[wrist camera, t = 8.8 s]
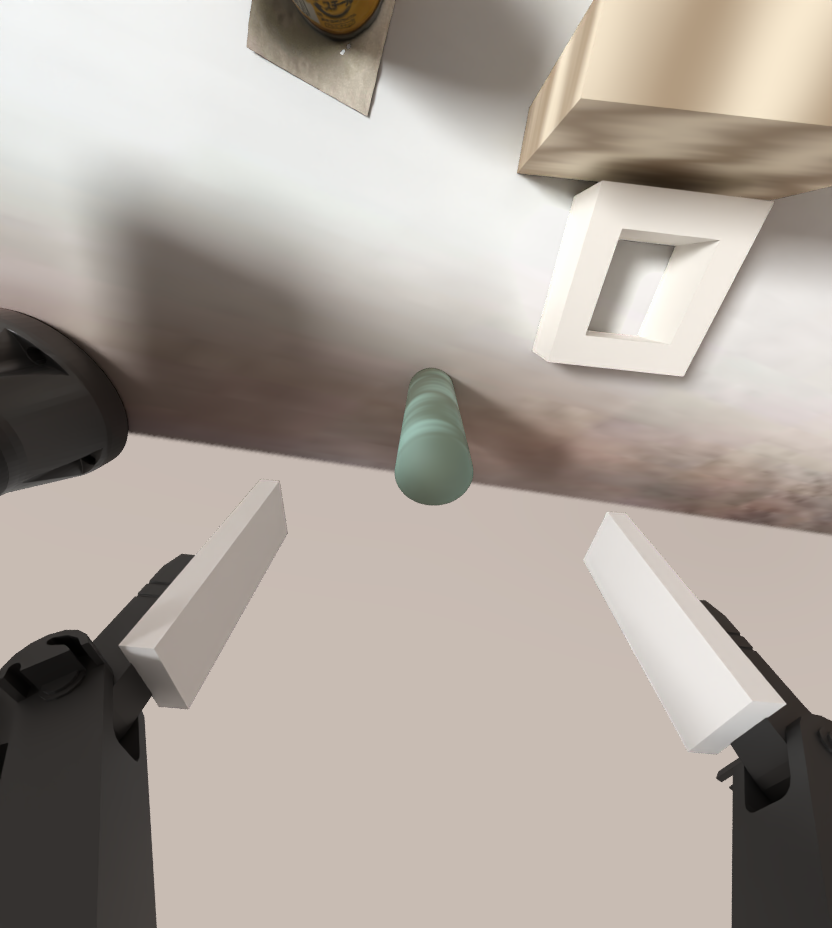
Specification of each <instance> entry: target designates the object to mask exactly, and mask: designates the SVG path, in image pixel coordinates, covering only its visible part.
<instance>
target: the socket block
mask: <svg viewBox="0 0 832 928" xmlns="http://www.w3.org/2000/svg"><path fill="white" fill-rule="evenodd" d="M774 202H775V201H767V200H759V199H751V198H742V197H734V196H726V195H718V194H710V193H701V192H693V191H685V190H677V189H669V188H660V187H652V186H644V185H636V184H628V183H619V182H611V181H603V180H602V181H600V182H599V183H597V184H595V185H593V186H592V187H590V188H588V189H586V190H584V191H583V192H581V193H579V194H577V195H576V196H574V198H573V202H572V206H571V209H570V213H569V217H568V220H567V224H566V228H565V231H564V235H563V239H562V243H561V246H560V250H559V254H558V257H557V261H556V265H555V268H554V272H553V276H552V279H551V283H550V287H549V291H548V294H547V298H546V302H545V305H544V309H543V313H542V316H541V320H540V324H539V327H538V331H537V335H536V339H535V342H534V346H533V350H532V351H533V352H534V353H536V354H537V355H539V356H540V357H542V358H543V359H544V360H546V361H547V362H553V363H562V364H572V365H581V366H590V367H599V368H609V369H618V370H627V371H636V372H646V373H655V374H664V375H673V376H684V374H685V373H686V371H687V369H688V367H689V365H690V363H691V361H692V359H693V357H694V355H695V353H696V351H697V350H698V348H699V346H700V344H701V342H702V340H703V338H704V336H705V334H706V332H707V330H708V328H709V327H710V325H711V323H712V321H713V319H714V317H715V315H716V313H717V311H718V309H719V307H720V305H721V304H722V302H723V300H724V298H725V296H726V294H727V292H728V290H729V288H730V286H731V284H732V282H733V281H734V279H735V277H736V275H737V273H738V271H739V269H740V267H741V265H742V263H743V261H744V259H745V258H746V256H747V254H748V252H749V250H750V248H751V246H752V244H753V242H754V240H755V238H756V236H757V235H758V233H759V231H760V229H761V227H762V225H763V223H764V221H765V219H766V217H767V215H768V213H769V212H770V210H771V208H772V206H773V204H774ZM618 239H620V240H629V241H637V242H646V243H654V244H663V245H671V246H675V248H674V250H673V253H672V255H671V257H670V260H669V262H668V264H667V267H666V269H665V272H664V274H663V276H662V279H661V281H660V283H659V286H658V288H657V291H656V293H655V295H654V298H653V300H652V302H651V305H650V307H649V310H648V312H647V314H646V317H645V319H644V321H643V324H642V326H641V328H640V331H639V333H638V336H634V335H625V334H616V333H607V332H598V331H589V330H587V329H588V326H589V323H590V321H591V318H592V315H593V312H594V309H595V306H596V303H597V300H598V297H599V294H600V291H601V289H602V286H603V283H604V280H605V277H606V274H607V271H608V268H609V265H610V262H611V259H612V257H613V254H614V251H615V248H616V245H617V242H618Z"/></svg>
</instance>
